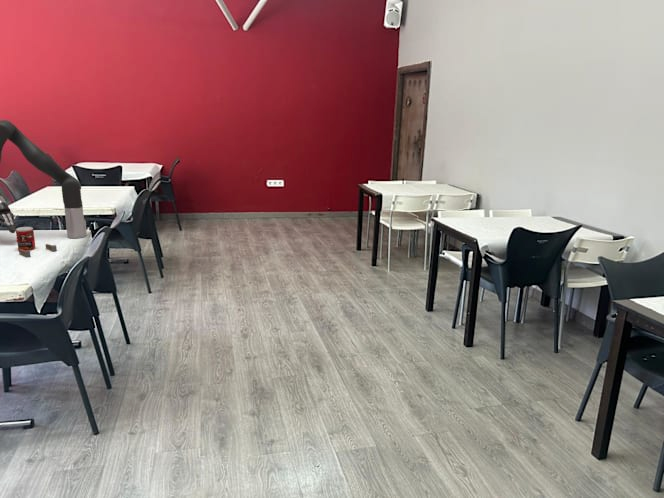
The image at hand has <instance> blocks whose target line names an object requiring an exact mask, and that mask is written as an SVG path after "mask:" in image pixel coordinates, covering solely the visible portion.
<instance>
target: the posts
mask: <svg viewBox="0 0 664 498" xmlns="http://www.w3.org/2000/svg"><path fill="white" fill-rule="evenodd" d="M51 245H52V244H51ZM51 249H52V251H51V252H57V251H58V249H57V245H56V244H53V245H52V246H51ZM24 257H25V258H30V257H31V250H27V251H25V256H24Z"/></svg>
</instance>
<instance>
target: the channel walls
mask: <svg viewBox="0 0 664 498" xmlns="http://www.w3.org/2000/svg"><path fill="white" fill-rule="evenodd" d="M51 246H52V244H49V243H46V244H45V250H48V251H51V252H53V251H52V249H51ZM18 253H19V255H20V256H22V257H25V250H22V249H20V250H19V249H18Z"/></svg>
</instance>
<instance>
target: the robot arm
mask: <svg viewBox="0 0 664 498" xmlns="http://www.w3.org/2000/svg"><path fill="white" fill-rule="evenodd" d="M7 141H10V142H11V143H13V144H14V145H15V146H16V147H17V149H18V150H19V151H20V152H21V154H22V155H23V157H24V158H25V160H26V161H28V163H29V164H31V166H33V167H34V168H36V169H37V170H38V171H40V172H41V173H43V174H44V175H47V176H49V178H50V177H51V178H52V179H53V180H54V181H56V182H57V183H58V185H60V186H61V194H62V203H63V207H64V208H63V209H64V216H65V226H66V227H65V228H66V236H67V238H69V239H81V238H85V237H87V236H88V233H87V232H88V231H87V222H86V219H85V218H84V217H85V216H84V205H83V200H82V192H81V190H82V184H81V182H80V181H79V179H78V178H76V177H74V176H73V175H71V174H70V173H69V172H67V171H65V170H64V169H63V168H62V167H61V166H60V165H59V164H58V163H57V162H56V161H55V160H54V159H53V158H52V157H50V155H48V154H47V153H46V152H45V151H44V150H42V149H41V148H40V147H38V146H37V145H36V143H34V142H32V141H31V140H30V139H29V138H28V137H27V136H26V135H25V134H24V133H23V132H22V131H21V130H20V129H19V128H18V127H17V126H16V125H15V124H14V123H13V122H11V121H9V120H7V119H2V120H0V164H1V163H2V156H3V155H2V154H3V152H2V151H3V148H4V147H5V144H6V142H7ZM19 218H20V216H19V214H18V215H17V214H16V215H15V214H14V213H13V212H12V211H11V209H10V207H9V205H8V203H7V202H6V200H5V198H4V197H3V195H2V193H0V227H1V228H6V229H8V231H9V233H10V234H16V229H17V228H16V225H17V223H18V220H19ZM13 220H14V221H13Z"/></svg>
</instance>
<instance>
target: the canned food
mask: <svg viewBox="0 0 664 498" xmlns="http://www.w3.org/2000/svg"><path fill="white" fill-rule="evenodd" d="M15 229H16V231H15V235H16V236H15V237H16V242H17V243H16V244H17V249H18V251H19V250H20V249H22V250H25V251H27V250H29V251H33V250H35V248H36V242H35V241H36V240H35V233H34V228H33V227H32V226H20V227H17V228H15Z"/></svg>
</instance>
